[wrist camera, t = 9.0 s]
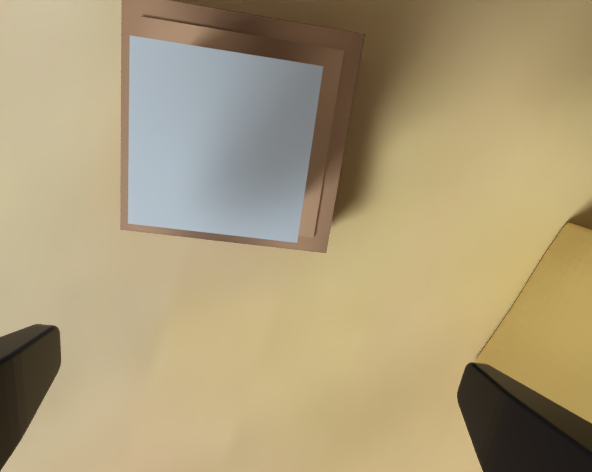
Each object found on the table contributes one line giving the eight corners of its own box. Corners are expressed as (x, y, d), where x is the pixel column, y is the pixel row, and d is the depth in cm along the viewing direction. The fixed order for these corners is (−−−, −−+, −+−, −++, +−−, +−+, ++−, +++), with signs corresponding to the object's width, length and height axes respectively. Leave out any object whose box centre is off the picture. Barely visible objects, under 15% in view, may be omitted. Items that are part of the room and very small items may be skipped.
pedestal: (349, 46, 18) (365, 33, 15) (318, 233, 20) (326, 254, 17) (147, 12, 17) (120, -10, 14) (142, 212, 19) (119, 230, 16)
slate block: (307, 80, 15) (323, 66, 10) (290, 204, 16) (297, 242, 12) (176, 60, 15) (129, 35, 10) (171, 190, 16) (127, 223, 11)
